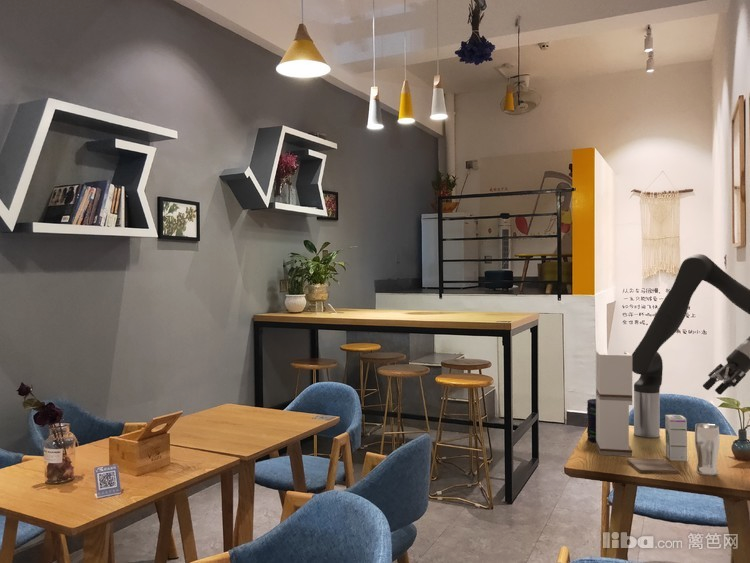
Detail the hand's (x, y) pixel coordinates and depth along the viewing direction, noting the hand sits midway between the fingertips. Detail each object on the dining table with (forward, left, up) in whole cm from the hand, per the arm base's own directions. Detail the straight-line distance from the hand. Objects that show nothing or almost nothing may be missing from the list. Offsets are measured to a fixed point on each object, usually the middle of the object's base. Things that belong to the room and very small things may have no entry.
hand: (711, 390), depth 211 cm
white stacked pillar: (-9, -30, -24) cm, 39 cm away
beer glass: (+15, -8, -24) cm, 29 cm away
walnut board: (+10, -24, -23) cm, 35 cm away
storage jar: (-22, -30, -24) cm, 44 cm away
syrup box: (0, -12, -24) cm, 26 cm away
